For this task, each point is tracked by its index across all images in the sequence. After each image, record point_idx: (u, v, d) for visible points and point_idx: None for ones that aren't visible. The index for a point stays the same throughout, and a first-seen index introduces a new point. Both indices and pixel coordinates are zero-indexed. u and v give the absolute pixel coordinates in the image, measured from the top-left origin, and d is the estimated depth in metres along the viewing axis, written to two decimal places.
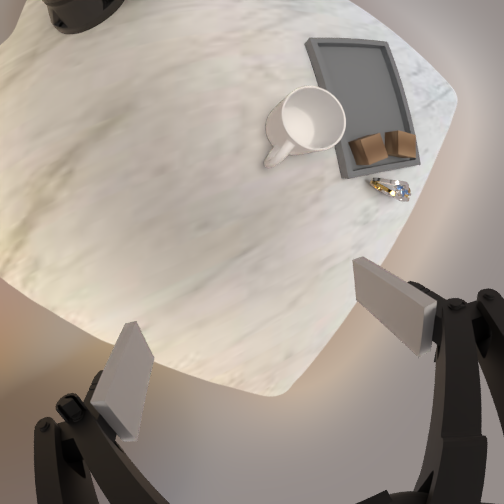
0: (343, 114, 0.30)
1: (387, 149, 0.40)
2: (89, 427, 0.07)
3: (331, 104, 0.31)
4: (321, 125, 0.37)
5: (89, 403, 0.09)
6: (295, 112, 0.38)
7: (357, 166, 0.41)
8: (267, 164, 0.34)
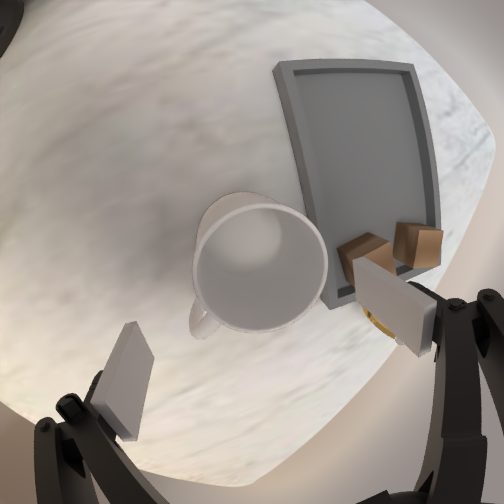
0: (324, 256, 0.17)
1: (397, 251, 0.27)
2: (89, 427, 0.07)
3: (304, 227, 0.18)
4: (290, 236, 0.24)
5: (89, 403, 0.09)
6: None
7: (347, 282, 0.28)
8: None
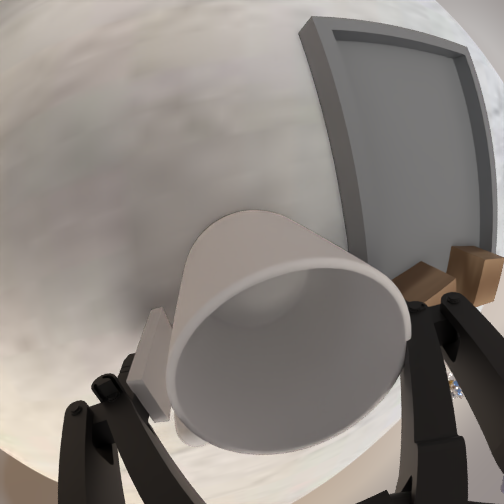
0: (405, 342, 0.08)
1: None
2: (124, 408, 0.08)
3: (372, 287, 0.09)
4: (326, 279, 0.15)
5: (122, 385, 0.10)
6: None
7: None
8: None
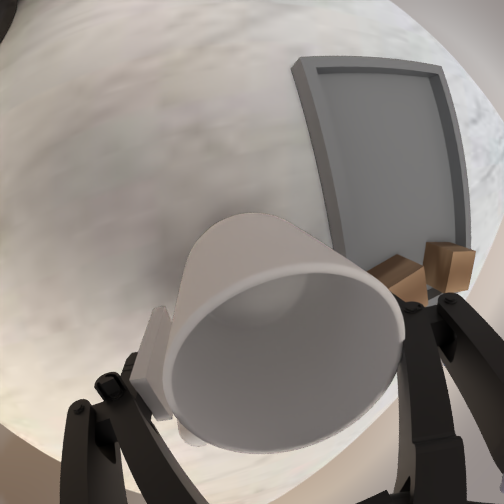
0: (399, 343, 0.08)
1: (426, 274, 0.23)
2: (127, 407, 0.08)
3: (366, 288, 0.09)
4: (324, 280, 0.15)
5: (125, 383, 0.10)
6: None
7: None
8: None
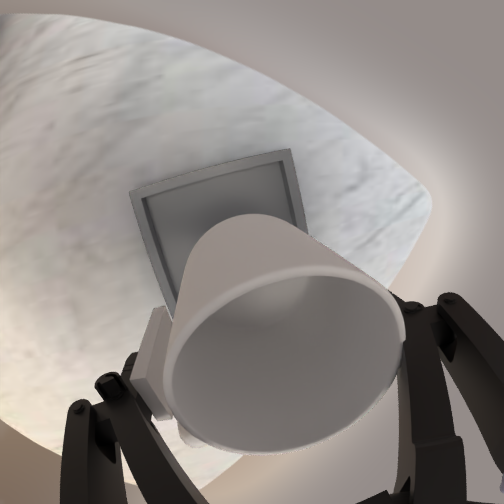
0: (400, 345, 0.08)
1: None
2: (127, 407, 0.08)
3: (366, 291, 0.09)
4: (325, 281, 0.15)
5: (125, 383, 0.10)
6: None
7: None
8: None
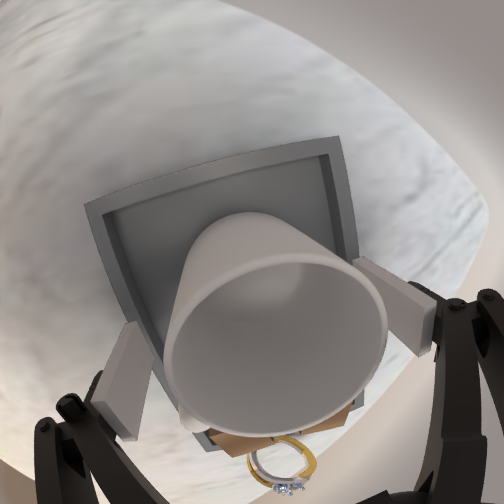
0: (383, 330, 0.09)
1: None
2: (89, 427, 0.07)
3: (350, 279, 0.10)
4: (316, 274, 0.16)
5: (89, 403, 0.09)
6: None
7: None
8: None
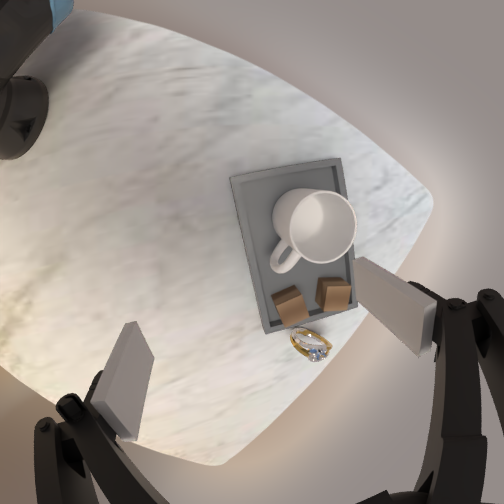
0: (355, 220, 0.30)
1: (317, 297, 0.42)
2: (89, 427, 0.07)
3: (343, 205, 0.31)
4: (330, 215, 0.37)
5: (89, 403, 0.09)
6: None
7: None
8: (273, 269, 0.35)
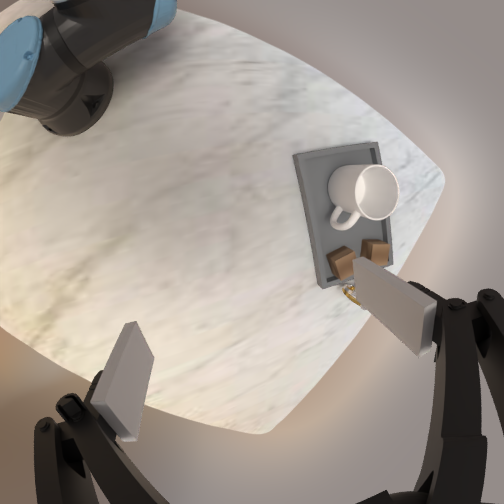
0: (397, 187, 0.37)
1: (362, 256, 0.49)
2: (89, 427, 0.07)
3: (388, 177, 0.38)
4: (373, 186, 0.44)
5: (89, 403, 0.09)
6: None
7: (332, 274, 0.50)
8: (336, 227, 0.41)
